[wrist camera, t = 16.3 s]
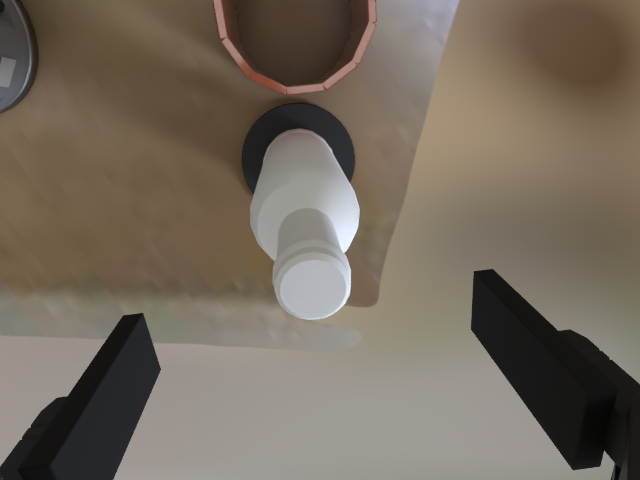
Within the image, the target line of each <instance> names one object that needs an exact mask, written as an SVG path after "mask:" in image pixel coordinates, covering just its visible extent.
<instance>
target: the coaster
mask: <svg viewBox="0 0 640 480" xmlns="http://www.w3.org/2000/svg"><path fill="white" fill-rule="evenodd" d="M298 128H301V129H305V130H310V131H313V132H314V133H316V134H317V135H319V136H320V137H322V138H323V139H324V140H325V141H326V143H327V144H328V145H329V147H330V148H331V149H332V152H333V155H334V156H335V158H336V160H337V162H338V164H339V165H340V167H341V169H342V171H343V172H344V174H345V176H346V178H347V179H348V181H349V183H350V181H351V179H352V176H353V172H354V165H355V155H354V148H353V144H352V141H351V139H350V136H349V134H348V132H347V131H346V129H345V127H344V126H343V125H342V124H341V122H340V121H339V120H338V119H337V118H336V117H335V116H333V115H332V114H330V113H329V112H328V111H326V110H324V109H322V108H320V107H317V106H315V105H310V104H305V103H291V104H285V105H282V106H279V107H276V108H274V109H272V110H270V111H268V112H267V113H266V114H264V115H263V116H262V117H261V118H260V119H258V120H257V122H256V123H255V124H254V125H253V126H252V128H251V130H250V131H249V133H248V135H247V137H246V140H245V143H244V146H243V152H242V167H243V172H244V176H245V179H246V181H247V184H248V186H249V187H250V189H251V191H252V192H253V193H254V192H255V189H256V185H257V182H258V179H259V175H260V172H261V169H262V166H263V159H264V156H265V153H266V151H267V148H268V146H269V145H270V144H271V143H272V141H273V140H274V139H275V138H276V137H277V136H278V135H280V134H282V133H283V132H285V131H287V130H291V129H298Z"/></svg>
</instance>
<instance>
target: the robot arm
mask: <svg viewBox="0 0 640 480" xmlns="http://www.w3.org/2000/svg"><path fill="white" fill-rule="evenodd" d="M37 63H38V52H37V43H36V38H35V34H34V30H33V27H32V24H31V22H30V19H29V17H28V15H27V13H26V11H25V9H24V7H23V5H22V4H21V2H20V1H19V0H0V113H2V112H4V111H6V110H8V109H10V108H12V107H13V106H15V105H16V104H17V103H19V102H20V101H21V100H22V99H23V98H24V96H25V95H26V94H27V92H28V91H29V89H30V87H31V85H32V83H33V81H34V78H35V74H36V70H37ZM471 330H472V331H473V333H474V334H475V335H476V337H477V338H478V340H479V341H480V342H481V344H482V345H483V346H484V348H485V349H486V351H487V352H488V353H489V355H490V356H491V358H492V359H493V360H494V362H495V363H496V364H497V366H498V367H499V369H500V370H501V371H502V373H503V374H504V375H505V377H506V378H507V380H508V381H509V382H510V384H511V385H512V387H513V388H514V389H515V391H516V392H517V394H518V395H519V396H520V398H521V399H522V400H523V402H524V403H525V404H526V406H527V407H528V409H529V410H530V412H531V413H532V414H533V416H534V417H535V418H536V420H537V421H538V422H539V424H540V425H541V427H542V428H543V429H544V431H545V432H546V434H547V435H548V436H549V438H550V439H551V440H552V442H553V443H554V445H555V446H556V447H557V449H558V450H559V451H560V453H561V454H562V456H563V457H564V459H565V460H566V461H567V463H568V464H569V465H570V467H571V468H572V470H578V469H586V468H593V467H600V465H601V461H602V457H603V452H604V450H605V452H606V453H607V454H608V455H609V456H610V458H611V459H612V460H613V461H614V462H615V465H614V469H613V473H612V477H611V480H640V384H639V383H638V382H636V381H635V380H634V379H633V378H632V377H631V376H629V375H628V374H627V373H626V372H625V371H624V370H622V369H621V368H620V367H619V366H618V365H617V364H616V363H615V362H614V361H612V360H610V359H609V357H608V356H607V355H606V354H604V353H603V352H602V351H599V348H597V346H595V345H594V344H593V343H592V342H591V341H590V340H588V339H587V338H586V337H584V336H582V335H580V334H578V333H576V332H574V331H572V330H563V331H557V330H556V328H554V326H553V325H551V324H550V323H549V322H548V321H547V320H546V319H545V318H544V317H543V316H542V315H541V314H540V313H539V312H538V311H537V310H536V309H534V308H533V307H532V306H531V305H530V304H529V303H528V302H527V301H526V300H525V299H524V298H523V297H522V296H521V295H520V294H519V293H518V292H516V291H515V290H514V289H513V288H512V287H511V286H510V285H509V284H508V283H507V282H506V281H505V280H504V279H503V278H502V277H501V276H499V275H498V274H497V273H496V272H495V271H494V270H493V269H490V270H481V271H474V279H473V299H472V320H471ZM160 370H161V368H160V365H159V362H158V359H157V356H156V353H155V349H154V346H153V343H152V340H151V337H150V334H149V330H148V327H147V324H146V321H145V318H144V315H143V313H140V314H132V315H124V316H123V317H122V318H121V320H120V321H119V322H118V324H117V325H116V327H115V328H114V330H113V331H112V333H111V334H110V336H109V337H108V338H107V340H106V341H105V343H104V344H103V346H102V347H101V349H100V350H99V351H98V353H97V355H96V356H95V357H94V359H93V360H92V362H91V363H90V365H89V366H88V368H87V369H86V370H85V372H84V373H83V375H82V376H81V378H80V379H79V381H78V382H77V383H76V385H75V387H74V388H73V389H72V391H71V392H70V394H69V395H68V396H67V397H60V398H56V399H55V400H54V401H53V402H52V403H50V404H49V405H48V406H47V407H46V408H44V409H43V410H42V411H41V412H40V414H39V415H38V416H37V418H36V419H35V420H34V422H33V423H32V424H31V428H28V430H27V431H26V433H25V434H24V435H23V437H22V440H20V441H19V442H18V444H17V445H16V446H15V448H14V449H13V451H12V452H11V453H10V454H9V456H8V457H7V459H6V460H5V461H4V463H3V464H2V465H1V467H0V480H113V479H114V476H115V474H116V472H117V469H118V467H119V465H120V463H121V460H122V458H123V456H124V453H125V451H126V448H127V446H128V444H129V442H130V439H131V437H132V435H133V433H134V430H135V428H136V426H137V423H138V421H139V419H140V416H141V414H142V412H143V410H144V407H145V405H146V402H147V400H148V398H149V396H150V393H151V391H152V389H153V386H154V384H155V382H156V380H157V377H158V375H159V373H160Z"/></svg>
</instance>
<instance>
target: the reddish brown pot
mask: <svg viewBox="0 0 640 480" xmlns="http://www.w3.org/2000/svg"><path fill="white" fill-rule="evenodd" d="M239 1H240V0H213V5H214V11H215V16H216V22H217V28H218V33H219V38H220V39H221V40H222V41H221V43H222V44H223V46H224V47H225V48H226V50H227V51H228V52H229V54H230V55H231V56H232V58H233V59H234V60H235V62H236V63H237V64H238V66H239V67H240V69H241V70H242V71H243V73H244V74H245V75H246V76H249V79H251V80H253V81H255V82H258V83H260V84H262V85H264V86H266V87H268V88H270V89H273V90H275V91H277V92H279V93H281V94H283V95H285V92H286V94H287V95H294V94H303V93H312V92H321V91H324V89H325V90H327V89H329V88H330V87H331V86H333V85H334V84H335V83H336V82H338V81H339V80H340V79H342V78H343V77H344V76H346V75H347V74H348V73H349V72H351V71H352V70H353V69H355V68H356V67H357V64H359V63H360V61H361V59H362V56H363V54H364V52H365V50H366V47H367V45H368V43H369V41H370V38H371V36H372V34H373V32H374V29H375V27H376V24H374V23H376V22H377V13H376V0H349V4H350V19H351V36H350V38H349V41H348V43H347V45H346V48H345V50H344V52H343V55H342V57H341V59H340V62H339V64H337V65H336V66H335V67H333V68H332V69H331V70H330V71H328V72H327V73H326V74H325V75H323V76H322V77H321V78H319V79H318V80H317V81H316V82H307V83H298V84H288V85H287V84H285V83H283V82H280V81H278V80H276V79H274V78H272V77H270V76H268V75H266V74H263V73H261V72H260V71H259V70H258V68H257V67H256V66H255V64H254V63H253V61H252V60H251V59H250V57H249V56H248V54H247V53H246V52H245V50H244V49H243V48H242V46H241V41H240V35H239V29H238V23H237V16H236V10H237V7H238V4H239Z"/></svg>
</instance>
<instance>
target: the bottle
mask: <svg viewBox="0 0 640 480" xmlns="http://www.w3.org/2000/svg"><path fill="white" fill-rule="evenodd" d="M359 211H360V209H359V205H358V202H357V198H356V195H355V192H354V190H353V188H352V186H351V185H350V183H349V181H348V179H347V178H346V176H345V174H344V172H343V171H342V169H341V167H340V165H339V164H338V162H337V160H336V158H335V156H334V155H333V152H332V149H331V148H330V147H329V145H328V144H327V143H326V141H325V140H324V139H323V138H322V137H320V136H319V135H317V134H316V133H314V132H313V131H310V130H305V129H301V128H298V129H291V130H287V131H285V132H283V133H282V134H280V135H278V136H277V137H276V138H275V139H274V140H273V141H272V143H271V144H270V145H269V146H268V148H267V151H266V153H265V156H264V159H263V166H262V169H261V172H260V175H259V179H258V182H257V185H256V189H255V192H254V195H253V199H252V202H251V205H250V226H251V228H252V231H253V233H254V235H255V238H256V240H257V242H258V244H259V245H260V246H261V248H262V249H263V250H264V251H265V252H266V253H267V254H268V255H269V256H270V257H271V258H272V259H273V260H274V261H275V263H274V266H273V285H274V287H275V294H276V297H277V299H278V302H279V304H280V305H281V306H282V307H283V308H284V309H285V310H286V311H287V312H288V313H290V314H292V315H294V316H296V317H298V318H301V319H308V320H316V319H322V318H326V317H328V316H330V315H332V314H334V313H336V312H337V311H338V310H339V309H340V308H341V307H342V306H343V305H344V304H345V303H346V301H347V299H348V297H349V295H350V288H351V280H350V278H351V269H350V266H349V263H348V260H347V257H346V255H345V254H344V253H345V252H346V251H347V249H348V248H349V246H350V244H351V242H352V240H353V238H354V236H355V233H356V231H357V229H358V223H359Z"/></svg>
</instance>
